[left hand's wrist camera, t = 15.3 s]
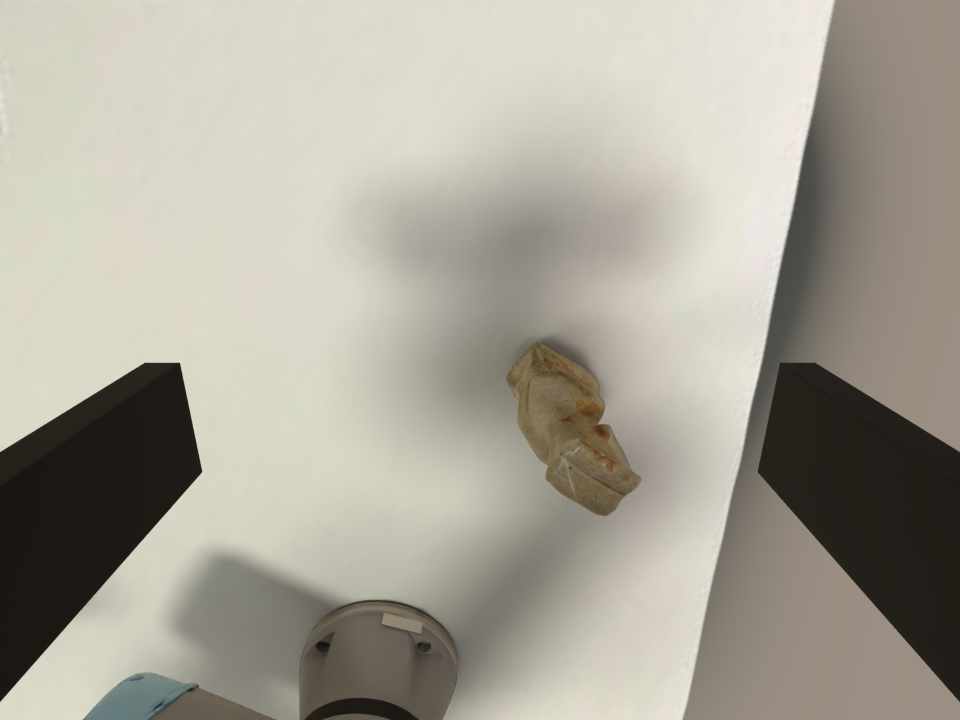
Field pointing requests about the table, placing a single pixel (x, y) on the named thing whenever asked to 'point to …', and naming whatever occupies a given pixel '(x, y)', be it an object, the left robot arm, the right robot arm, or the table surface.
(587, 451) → the sculpture
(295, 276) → the table surface
